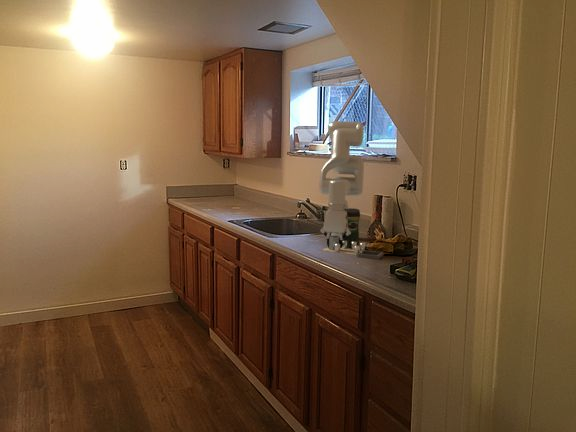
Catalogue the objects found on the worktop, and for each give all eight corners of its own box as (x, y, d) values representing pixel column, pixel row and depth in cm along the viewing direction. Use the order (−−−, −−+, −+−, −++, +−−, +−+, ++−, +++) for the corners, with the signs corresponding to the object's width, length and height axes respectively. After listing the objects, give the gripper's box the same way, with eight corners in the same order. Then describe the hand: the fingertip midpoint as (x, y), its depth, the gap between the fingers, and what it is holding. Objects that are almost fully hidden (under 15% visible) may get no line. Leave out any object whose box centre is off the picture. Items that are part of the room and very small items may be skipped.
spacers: (341, 247, 243) (342, 240, 243) (365, 250, 239) (365, 242, 238) (334, 251, 233) (334, 244, 232) (358, 254, 228) (359, 246, 228)
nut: (328, 248, 240) (328, 235, 239) (338, 248, 241) (339, 235, 240) (329, 250, 236) (330, 237, 235) (341, 250, 236) (341, 237, 236)
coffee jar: (354, 245, 253) (355, 207, 250) (361, 248, 245) (363, 209, 243) (335, 246, 250) (337, 207, 247) (342, 249, 242) (344, 209, 240)
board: (328, 247, 246) (328, 246, 246) (366, 251, 239) (366, 250, 239) (320, 251, 235) (320, 250, 235) (359, 256, 228) (359, 254, 228)
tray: (362, 254, 232) (363, 250, 231) (383, 256, 228) (383, 252, 228) (357, 258, 223) (357, 253, 223) (378, 260, 220) (378, 256, 220)
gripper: (356, 208, 236) (355, 248, 239) (321, 205, 243) (320, 244, 245) (352, 209, 229) (350, 251, 232) (315, 207, 236) (314, 247, 238)
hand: (334, 247), depth 238 cm, fingers closed on nut, 4 cm apart
